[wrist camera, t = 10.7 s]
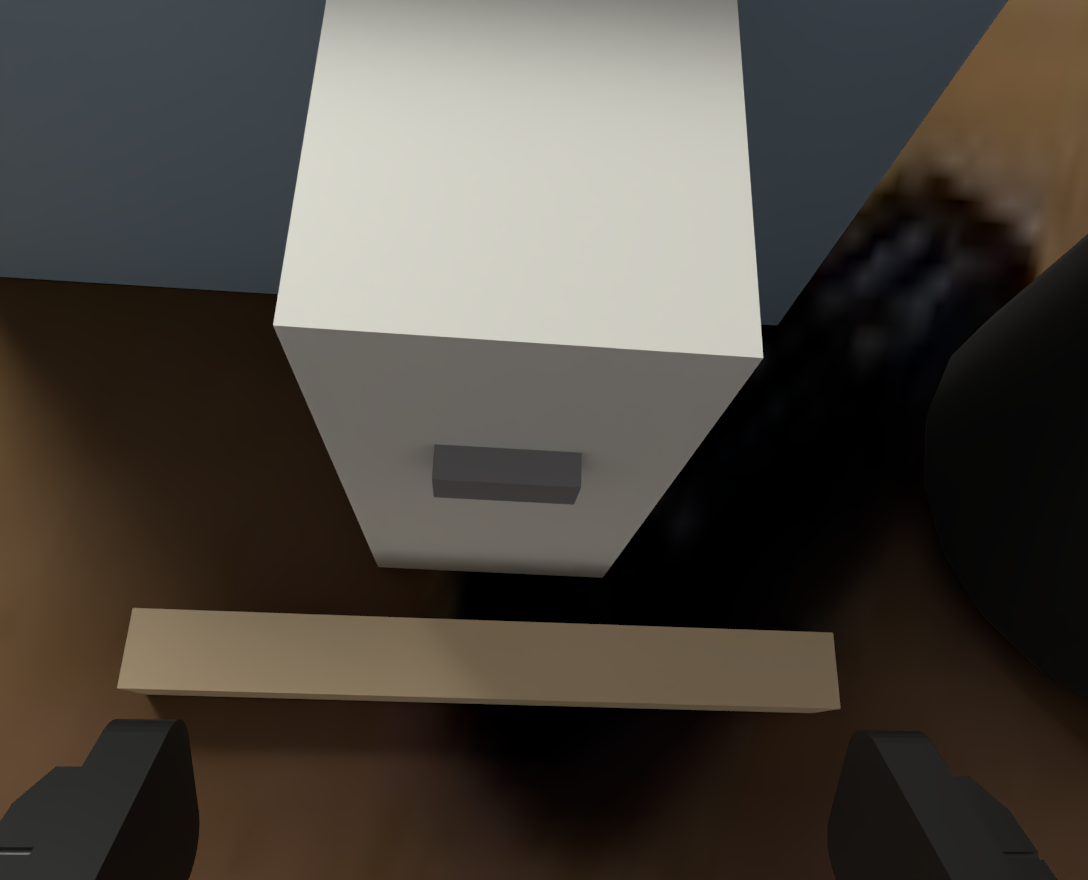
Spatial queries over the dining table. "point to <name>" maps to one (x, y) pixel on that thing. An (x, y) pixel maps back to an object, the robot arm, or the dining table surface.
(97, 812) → the robot arm
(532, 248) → the cabinet
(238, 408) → the dining table surface
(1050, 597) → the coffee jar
